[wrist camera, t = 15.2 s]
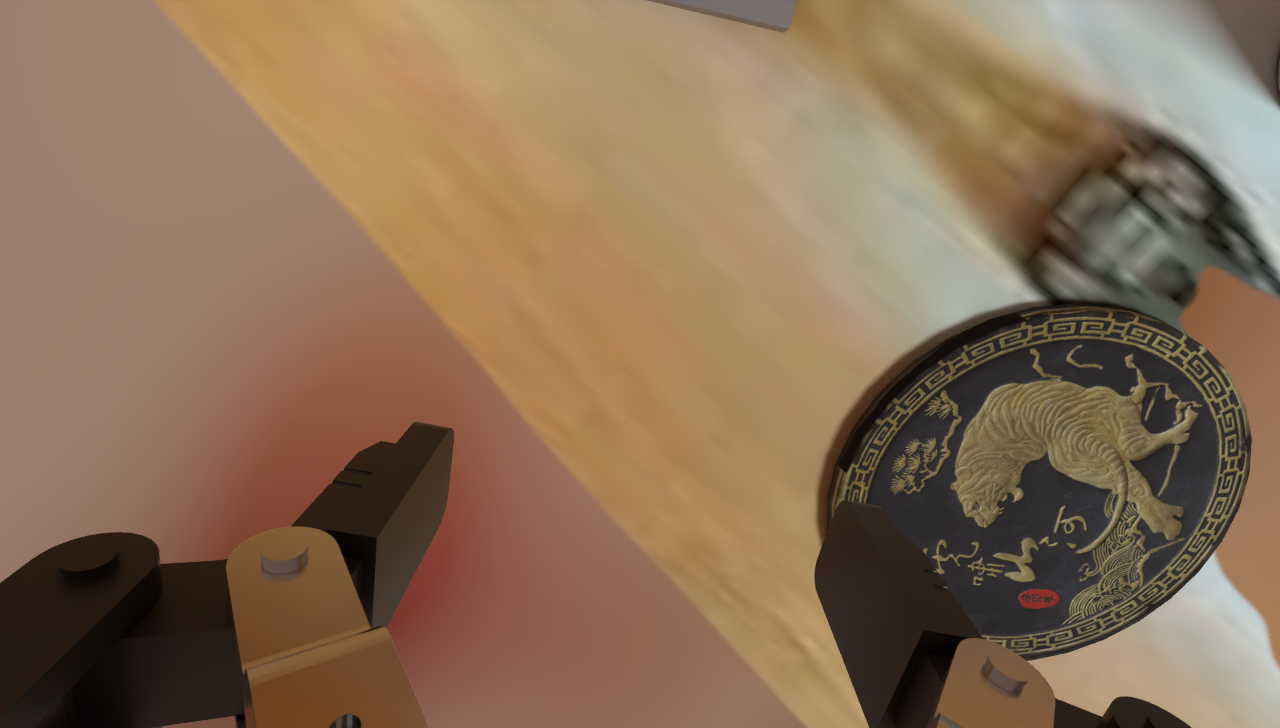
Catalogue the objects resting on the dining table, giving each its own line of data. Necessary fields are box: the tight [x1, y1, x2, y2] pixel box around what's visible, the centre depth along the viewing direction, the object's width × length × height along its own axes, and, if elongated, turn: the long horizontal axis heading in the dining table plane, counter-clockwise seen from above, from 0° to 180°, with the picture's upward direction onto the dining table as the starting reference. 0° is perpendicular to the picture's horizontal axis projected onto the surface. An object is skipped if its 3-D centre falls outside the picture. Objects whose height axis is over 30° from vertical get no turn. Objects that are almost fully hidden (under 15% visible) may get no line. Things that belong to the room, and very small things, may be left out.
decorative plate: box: [828, 303, 1252, 661], centre depth 44 cm, size 30×2×30 cm
